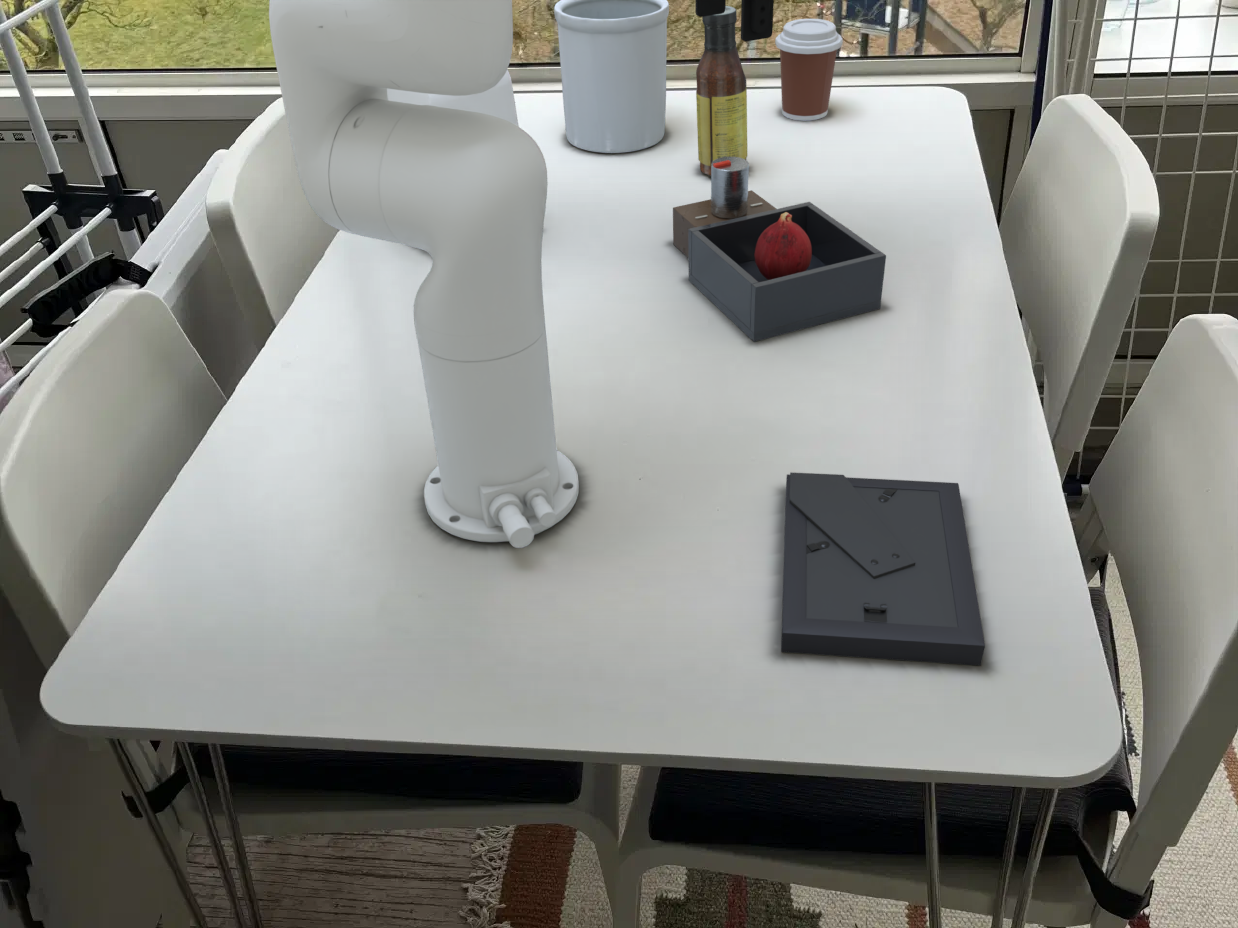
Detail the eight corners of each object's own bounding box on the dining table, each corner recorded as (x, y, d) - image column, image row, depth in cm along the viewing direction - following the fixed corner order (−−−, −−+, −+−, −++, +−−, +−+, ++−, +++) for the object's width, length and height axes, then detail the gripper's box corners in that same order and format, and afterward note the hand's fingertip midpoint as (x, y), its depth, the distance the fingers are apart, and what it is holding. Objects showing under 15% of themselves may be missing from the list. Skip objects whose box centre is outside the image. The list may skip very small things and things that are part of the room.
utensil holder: (604, 110, 166) (598, -17, 155) (690, 128, 158) (690, -4, 148) (541, 143, 156) (530, 10, 146) (630, 163, 149) (625, 25, 139)
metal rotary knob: (735, 201, 127) (736, 151, 124) (754, 213, 124) (755, 163, 121) (704, 208, 126) (704, 158, 122) (722, 222, 123) (723, 170, 119)
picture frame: (785, 492, 92) (780, 652, 78) (786, 470, 91) (782, 629, 77) (955, 501, 90) (981, 666, 76) (959, 479, 89) (986, 642, 75)
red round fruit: (807, 300, 115) (812, 228, 111) (750, 297, 116) (753, 225, 112) (811, 274, 120) (815, 203, 115) (756, 271, 121) (759, 201, 116)
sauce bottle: (755, 166, 147) (760, 6, 135) (732, 183, 142) (735, 19, 131) (710, 157, 149) (711, 0, 138) (687, 174, 145) (686, 13, 133)
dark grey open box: (880, 309, 115) (886, 255, 112) (753, 342, 111) (755, 287, 108) (806, 252, 126) (809, 201, 123) (688, 280, 122) (688, 228, 119)
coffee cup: (770, 123, 159) (774, 35, 151) (774, 101, 166) (777, 16, 159) (836, 124, 157) (843, 35, 150) (837, 102, 164) (844, 16, 157)
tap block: (785, 254, 126) (787, 215, 123) (705, 273, 123) (705, 234, 120) (750, 226, 132) (751, 188, 130) (672, 244, 129) (672, 205, 127)
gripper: (822, -160, 98) (810, 43, 108) (728, -183, 111) (726, 1, 121) (745, -151, 96) (740, 55, 106) (658, -175, 108) (662, 11, 119)
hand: (732, 26), depth 113 cm, fingers open, 9 cm apart
